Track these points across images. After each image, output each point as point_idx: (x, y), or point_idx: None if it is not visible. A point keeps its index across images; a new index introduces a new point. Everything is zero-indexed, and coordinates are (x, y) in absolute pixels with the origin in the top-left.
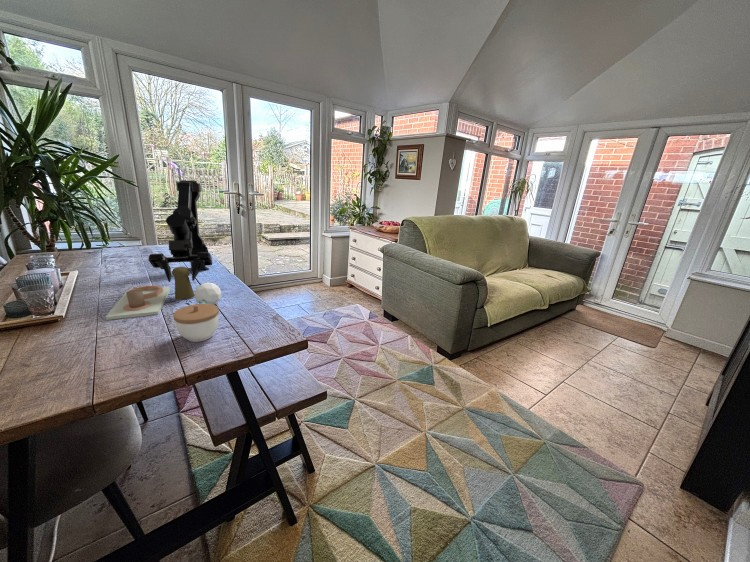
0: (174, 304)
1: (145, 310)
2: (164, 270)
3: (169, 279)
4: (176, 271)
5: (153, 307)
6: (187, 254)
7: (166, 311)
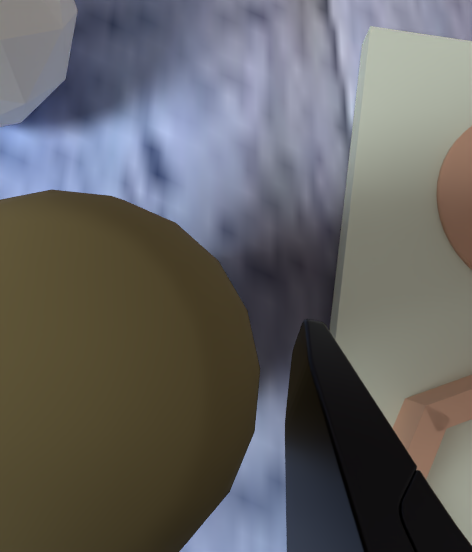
0: (256, 196)
1: (459, 82)
2: (442, 511)
3: (305, 331)
4: (149, 221)
5: (409, 121)
6: None
7: (311, 75)
